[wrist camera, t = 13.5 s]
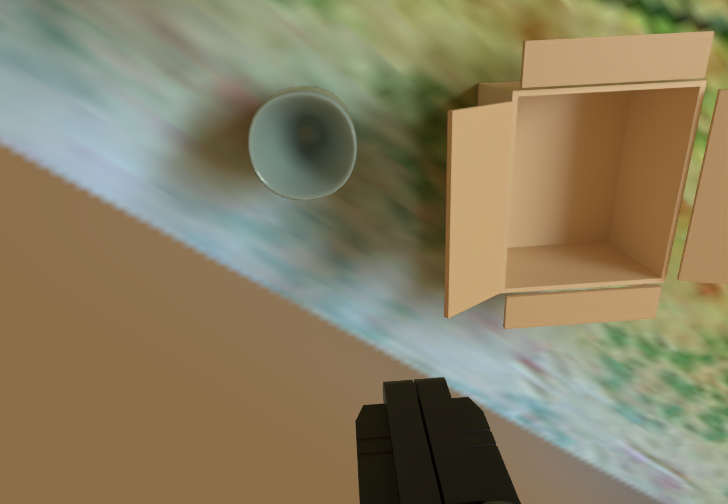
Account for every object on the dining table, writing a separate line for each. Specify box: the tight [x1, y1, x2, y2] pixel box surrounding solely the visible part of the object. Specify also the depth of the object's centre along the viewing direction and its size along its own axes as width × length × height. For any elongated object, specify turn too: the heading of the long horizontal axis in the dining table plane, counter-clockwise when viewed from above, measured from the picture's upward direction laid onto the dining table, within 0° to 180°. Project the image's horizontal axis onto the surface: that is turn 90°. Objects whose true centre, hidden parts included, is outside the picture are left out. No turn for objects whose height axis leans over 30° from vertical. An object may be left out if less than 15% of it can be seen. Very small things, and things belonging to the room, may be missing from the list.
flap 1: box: [444, 101, 513, 318], centre depth 35 cm, size 15×6×1 cm
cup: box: [248, 86, 357, 200], centre depth 39 cm, size 8×8×10 cm
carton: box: [478, 31, 714, 329], centre depth 42 cm, size 22×14×9 cm, turn 3°
